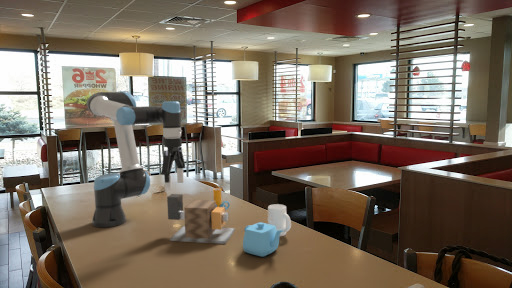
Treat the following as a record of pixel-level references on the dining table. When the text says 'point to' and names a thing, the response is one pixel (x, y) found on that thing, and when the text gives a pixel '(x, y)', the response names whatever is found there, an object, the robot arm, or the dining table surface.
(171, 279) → the dining table surface
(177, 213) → the grey mallet
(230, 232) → the block
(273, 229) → the teapot
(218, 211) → the block
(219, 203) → the cylinder
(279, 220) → the mug
